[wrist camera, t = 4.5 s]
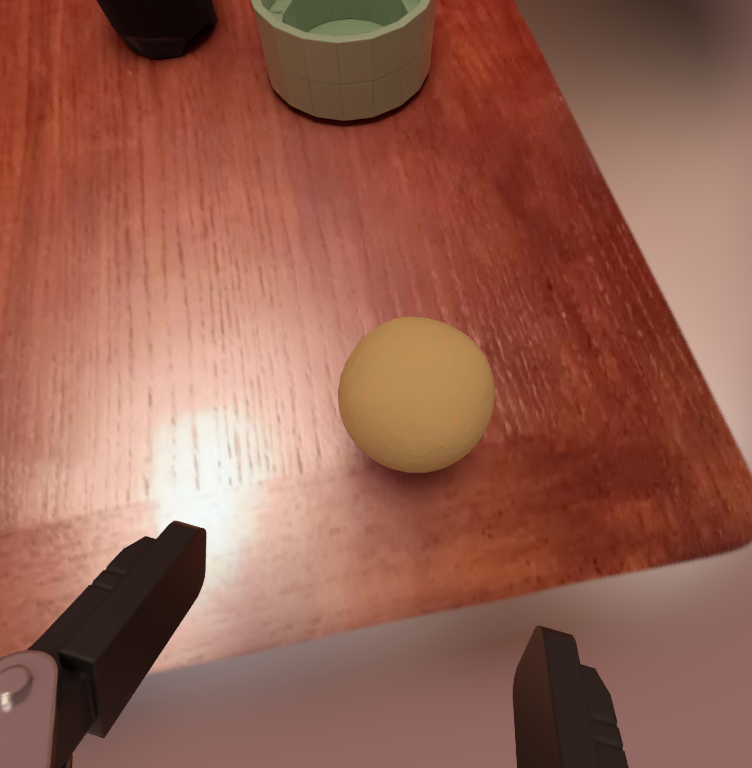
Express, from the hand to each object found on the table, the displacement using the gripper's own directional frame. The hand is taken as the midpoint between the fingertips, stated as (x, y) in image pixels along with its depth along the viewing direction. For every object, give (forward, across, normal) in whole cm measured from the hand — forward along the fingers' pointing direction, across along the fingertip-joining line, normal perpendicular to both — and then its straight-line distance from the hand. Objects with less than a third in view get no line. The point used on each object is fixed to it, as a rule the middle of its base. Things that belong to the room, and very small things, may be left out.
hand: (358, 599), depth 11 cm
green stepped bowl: (+34, +11, -15) cm, 39 cm away
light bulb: (+15, 0, +4) cm, 16 cm away
